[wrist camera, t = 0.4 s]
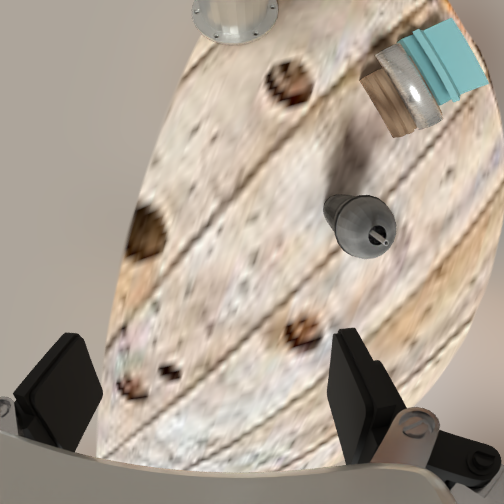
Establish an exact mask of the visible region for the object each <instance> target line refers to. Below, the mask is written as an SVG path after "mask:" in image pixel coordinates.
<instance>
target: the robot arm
mask: <svg viewBox="0 0 504 504" xmlns="http://www.w3.org/2000/svg"><path fill="white" fill-rule="evenodd" d="M271 8H273V9H271ZM197 13H199V14H197ZM277 15H278V4H277V1H276V0H195V1H194V4H193V7H192V19H193V22H194V24H195V26H196V28H197V29H198V31H199V32H200V33H201V34H202V35H203V36H205V37H206V38H207V39H209V40H211V41H213V42H216V43H219V44H225V45H241V44H247V43H250V42H253V41H255V40H257V39H260V38H261V37H263V36H264V35H266V34H267V33H268V32H269V31H270V30H271V29H272V27H273V26H274V24H275V22H276V19H277ZM254 34H257V35H256V36H255V35H254ZM215 37H218V38H215ZM13 395H14V396H15V398H16V401H15V402H13V400H12V399H11V398H9V397H0V504H504V465H502V464H501V457H500V454H499V453H498V451H497V450H496V449H495V448H493V447H492V446H489V445H487V444H484V443H480V442H477V441H473V440H470V439H466V438H463V437H460V436H456V435H453V434H450V433H447V432H444V431H441V430H439V428H440V423H439V420H438V418H437V417H436V415H435V414H434V413H432V412H431V411H429V410H427V409H424V408H419V407H412V408H406V406H405V404H404V402H403V400H402V398H401V397H400V395H399V393H398V391H397V389H396V387H395V386H394V384H393V382H392V380H391V378H390V377H389V375H388V373H387V371H386V370H385V368H384V366H383V364H382V363H381V362H380V361H379V360H376V361H373V359H372V357H371V355H370V354H369V352H368V350H367V348H366V346H365V344H364V343H363V341H362V339H361V337H360V336H359V334H358V332H357V330H356V329H355V328H346V329H339V331H338V333H337V334H333V340H332V350H331V360H330V369H329V378H328V386H327V397H328V401H329V405H330V408H331V412H332V415H333V419H334V422H335V426H336V429H337V433H338V437H339V440H340V444H341V447H342V451H343V455H344V458H345V462H346V465H343V466H334V467H323V468H315V469H304V470H292V471H275V472H248V473H226V472H199V471H184V470H173V469H163V468H155V467H147V466H140V465H133V464H127V463H121V462H116V461H111V460H106V459H101V458H96V457H92V456H87V455H83V454H79V453H75V450H76V448H77V446H78V444H79V442H80V440H81V438H82V436H83V434H84V432H85V430H86V428H87V426H88V424H89V422H90V420H91V418H92V416H93V414H94V412H95V411H96V409H97V407H98V405H99V403H100V401H101V399H102V397H103V390H102V387H101V385H100V382H99V380H98V377H97V375H96V372H95V369H94V367H93V364H92V361H91V359H90V356H89V353H88V350H87V347H86V344H85V341H84V339H83V338H82V337H81V336H80V335H79V334H77V333H64V334H63V335H62V336H61V337H60V338H59V340H58V341H57V342H56V343H55V344H54V345H53V346H52V347H51V349H50V350H49V351H48V352H47V353H46V354H45V355H44V357H43V358H42V359H41V360H40V361H39V362H38V364H37V365H36V366H35V367H34V369H33V370H32V371H31V372H30V373H29V374H28V375H27V377H26V378H25V379H24V380H23V382H22V383H21V384H20V385H19V386H18V388H17V389H16V390H15V391H14V393H13Z"/></svg>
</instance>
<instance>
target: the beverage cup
mask: <svg viewBox="0 0 504 504" xmlns="http://www.w3.org/2000/svg"><path fill="white" fill-rule="evenodd" d="M323 212H324V216H325V218H326V220H327V222H328V223H329V225H330V226H331V228H332V229H333V231H334V232H335V236H336V239H337V242H338V244H339V245H340V247H341V248H342V249H343V251H345V252H346V253H348V254H350V255H351V256H354V257H358V258H362V259H371V258H376V257H378V256H380V255H382V254H384V253H385V252H386V251H387V250H388V249H389V248H390V247H391V245H392V243H393V242H394V238H395V235H396V222H395V219H394V215H393V214H392V212H391V211H390V209H389V208H388V206H387V205H386V204H385V203H384V202H382V201H381V200H380V199H379V198H377V197H373V196H370V195H359V196H348V195H334V196H332V197H330V198H329V199H328V200H327V201H326V202H325V204H324V208H323Z"/></svg>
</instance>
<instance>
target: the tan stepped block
mask: <svg viewBox="0 0 504 504" xmlns="http://www.w3.org/2000/svg"><path fill="white" fill-rule="evenodd" d="M409 57H410V56H409ZM410 59H411V61H412V62H413V64H414V65H415V63H414V61H413V60H412V58H411V57H410ZM415 67H416V69H417V70H418V68H417V66H416V65H415ZM418 72H419V74H420V75H421V73H420V71H419V70H418ZM421 77H422V79H423V81H424V82H425V80H424V78H423V76H422V75H421ZM359 81H360V82H361V84H362V85H363V87H364V89H365V90H366V92H367V93H368V95H369V97H370V98H371V100H372V102H373V103H374V105H375V107H376V108H377V110H378V112H379V113H380V115H381V117H382V119H383V120H384V122H385V124H386V126H387V128H388V129H389V131H390V133H391V135H392V137H393V138H395V137H402V136H404V135H406V134H410V133H412V132H414V129H416V128H417V127H416V125H415V123H414V121H413V119H412V117H411V115H410V113H409V111H408V110H407V108H406V106H405V104H404V102H403V101H402V99H401V97H400V95H399V94H398V92H397V90H396V88H395V87H394V85H393V83H392V82H391V80H390V79H389V77H388V75H387V74H386V72H385V71H384V69H383V68H382V69H380V70H377V71H375V72H373V73H371V74H369V75H367V76H365V77H364V78H362V79H361V80H359ZM425 84H426V86H427V88H428V90H429V91H430V89H429V87H428V85H427V83H426V82H425ZM430 93H431V95H432V97H433V99H434V101H435V103H436V105H437V107H438V109H439V111H440V113H441V115H442V112H441V110H440V108H439V106H438V104H437V102H436V100H435V98H434V96H433V94H432V92H431V91H430Z"/></svg>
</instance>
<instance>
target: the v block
mask: <svg viewBox="0 0 504 504" xmlns="http://www.w3.org/2000/svg"><path fill="white" fill-rule="evenodd" d="M397 43H400V44H401V45H402V47H403V48H404V50H405V51H406V53H407V54H408V56H410V57H411V58H412V60H413V61H414V63H415V65H416V66H417V68H418V70H419V71H420V73H421V75H422V76H423V78H424V80H425V82H426V83H427V85H428V87H429V89H430V91H431V92H432V94H433V96H434V98H435V100H436V102H437V104H438V106H439V105H442V104H444V103H446V102H447V101H449V100H451V99H452V101H453V102H456V101H458V100H460V94H462V93H465V92H468V91H470V90H473V89H476V88H478V87H481V86H484V85H487V84H489V83H488V80H487V78H486V76H485V74H484V72H483V70H482V68H481V67H480V65H479V63H478V61H477V59H476V57H475V55H474V54H473V52H472V50H471V48H470V47H469V45H468V43H467V41H466V40H465V38H464V36H463V35H462V33H461V32H460V30H459V28H458V27H457V25H456V24H455V22H454V21H453V19H452V18H450V19H448V20H445V21H443V22H441V23H439V24H436V25H434V26H432V27H430V28H428V29H426V30H424V31H423V30H420V29H417V30H415V31H413V35H410V36H408V37H405V38H403V39H401V40H400V41H398V42H397Z"/></svg>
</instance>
